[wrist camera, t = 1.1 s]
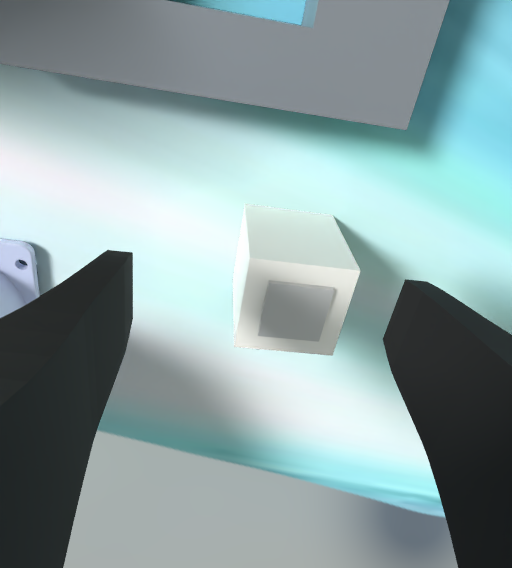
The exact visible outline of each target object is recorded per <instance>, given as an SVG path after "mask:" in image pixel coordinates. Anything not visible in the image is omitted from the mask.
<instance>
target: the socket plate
mask: <svg viewBox="0 0 512 568" xmlns="http://www.w3.org/2000/svg"><path fill="white" fill-rule="evenodd" d="M449 1H450V0H306V4H305V9H304V14H303V20H302V25H296V24H291V23H286V22H281V21H275V20H270V19H265V18H260V17H254V16H249V15H244V14H239V13H233V12H228V11H223V10H218V9H212V8H207V7H202V6H197V5H192V4H186V3H181V2H176V1H171V0H0V64H5V65H11V66H17V67H23V68H29V69H35V70H41V71H48V72H54V73H60V74H66V75H72V76H78V77H84V78H90V79H97V80H103V81H109V82H115V83H121V84H127V85H133V86H139V87H145V88H152V89H158V90H164V91H170V92H176V93H182V94H188V95H194V96H201V97H207V98H213V99H219V100H225V101H231V102H237V103H243V104H249V105H256V106H262V107H268V108H274V109H280V110H286V111H292V112H298V113H305V114H311V115H317V116H323V117H329V118H335V119H341V120H347V121H353V122H360V123H366V124H372V125H378V126H384V127H390V128H396V129H402V130H407V127H408V124H409V121H410V118H411V115H412V112H413V109H414V106H415V103H416V100H417V97H418V94H419V91H420V88H421V85H422V82H423V79H424V76H425V73H426V70H427V67H428V64H429V61H430V58H431V55H432V52H433V49H434V46H435V43H436V40H437V37H438V34H439V31H440V28H441V25H442V22H443V19H444V16H445V13H446V10H447V7H448V4H449Z"/></svg>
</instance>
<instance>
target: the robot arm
mask: <svg viewBox="0 0 512 568" xmlns="http://www.w3.org/2000/svg"><path fill="white" fill-rule="evenodd" d="M19 260H24V261H25V262H26V263H27V265H26V266H25V265H22V264H21V263H20V262H19ZM132 319H133V253H131V252H121V251H110V250H107V251H106V252H104V253H103V254H101V255H100V256H98V257H97V258H96V259H94V260H93V261H92V262H90V263H89V264H88V265H86V266H85V267H83V268H82V269H81V270H79V271H78V272H76V273H75V274H73V275H72V276H71V277H69V278H68V279H66V280H65V281H63V282H62V283H61V284H59V285H57V286H56V287H54V288H53V289H51V290H49V291H48V292H46V293H44V294H43V295H41V296H40V294H39V285H38V276H37V268H36V259H35V252H34V249H33V247H32V246H31V245H30V244H28V243H26V242H23V241H15V240H6V239H0V568H63V566H64V562H65V557H66V553H67V548H68V544H69V539H70V535H71V530H72V526H73V521H74V517H75V513H76V509H77V505H78V500H79V496H80V492H81V488H82V484H83V480H84V476H85V472H86V468H87V464H88V460H89V456H90V451H91V448H92V444H93V440H94V437H95V434H96V431H97V428H98V425H99V422H100V419H101V417H102V414H103V411H104V408H105V406H106V403H107V400H108V398H109V395H110V392H111V390H112V387H113V384H114V382H115V379H116V376H117V373H118V371H119V368H120V365H121V362H122V360H123V357H124V354H125V351H126V347H127V342H128V338H129V333H130V329H131V324H132ZM383 341H384V345H385V349H386V354H387V358H388V361H389V365H390V368H391V371H392V374H393V376H394V379H395V381H396V383H397V386H398V388H399V390H400V393H401V395H402V397H403V400H404V402H405V404H406V407H407V409H408V411H409V413H410V416H411V418H412V420H413V423H414V425H415V427H416V429H417V432H418V434H419V436H420V439H421V441H422V443H423V446H424V449H425V451H426V454H427V456H428V459H429V462H430V466H431V469H432V472H433V475H434V479H435V482H436V485H437V488H438V491H439V495H440V498H441V502H442V506H443V509H444V513H445V517H446V520H447V523H448V527H449V531H450V535H451V539H452V543H453V548H454V552H455V555H456V560H457V564H458V568H512V335H511V334H509V333H508V332H506V331H505V330H503V329H501V328H500V327H498V326H497V325H495V324H494V323H492V322H490V321H489V320H487V319H486V318H484V317H483V316H481V315H480V314H478V313H477V312H475V311H474V310H472V309H471V308H469V307H468V306H466V305H465V304H463V303H462V302H460V301H459V300H457V299H456V298H454V297H453V296H451V295H449V294H448V293H446V292H445V291H443V290H441V289H440V288H438V287H436V286H434V285H432V284H430V283H428V282H424V281H414V280H405V282H404V285H403V287H402V290H401V293H400V295H399V298H398V300H397V303H396V306H395V308H394V311H393V314H392V316H391V319H390V322H389V324H388V327H387V330H386V332H385V335H384V337H383Z"/></svg>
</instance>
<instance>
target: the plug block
mask: <svg viewBox="0 0 512 568" xmlns="http://www.w3.org/2000/svg"><path fill="white" fill-rule="evenodd" d="M360 271H361V270H360V269H359V267H358V265H357V263H356V261H355V259H354V257H353V255H352V253H351V251H350V249H349V247H348V245H347V243H346V241H345V239H344V237H343V235H342V233H341V231H340V229H339V227H338V225H337V223H336V221H335V219H334V217H333V215H329V214H321V213H314V212H306V211H298V210H291V209H283V208H276V207H268V206H261V205H253V204H246V203H245V206H244V212H243V219H242V225H241V231H240V238H239V244H238V250H237V256H236V263H235V269H234V275H233V316H234V347H242V348H253V349H264V350H276V351H287V352H298V353H309V354H321V355H333V352H334V349H335V346H336V343H337V340H338V337H339V334H340V331H341V328H342V325H343V322H344V319H345V316H346V313H347V310H348V307H349V304H350V301H351V298H352V295H353V292H354V289H355V286H356V283H357V280H358V277H359V274H360Z"/></svg>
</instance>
